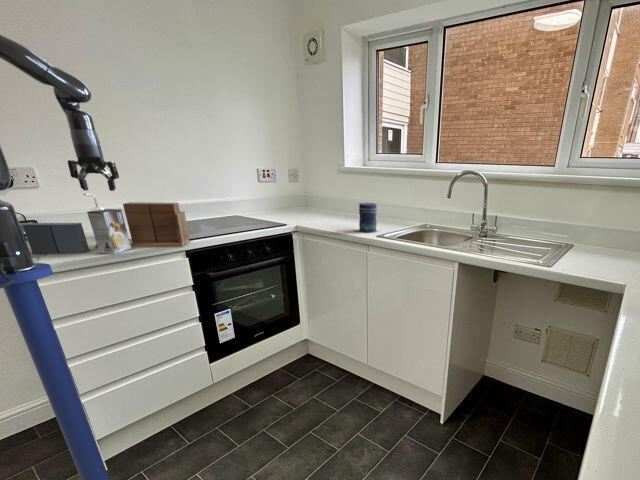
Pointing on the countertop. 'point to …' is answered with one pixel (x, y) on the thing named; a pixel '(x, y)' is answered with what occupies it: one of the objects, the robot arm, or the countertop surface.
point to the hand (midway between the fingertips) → (99, 190)
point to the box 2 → (165, 221)
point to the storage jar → (367, 217)
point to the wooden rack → (181, 231)
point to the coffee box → (109, 230)
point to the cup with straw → (95, 203)
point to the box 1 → (140, 221)
